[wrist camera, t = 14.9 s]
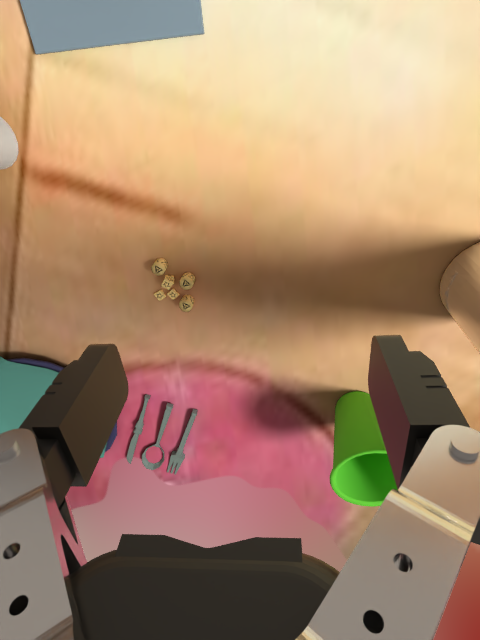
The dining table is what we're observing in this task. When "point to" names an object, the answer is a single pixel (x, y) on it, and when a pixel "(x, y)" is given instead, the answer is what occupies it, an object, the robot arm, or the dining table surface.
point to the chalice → (7, 145)
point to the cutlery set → (31, 383)
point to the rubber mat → (108, 22)
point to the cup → (360, 453)
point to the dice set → (185, 283)
